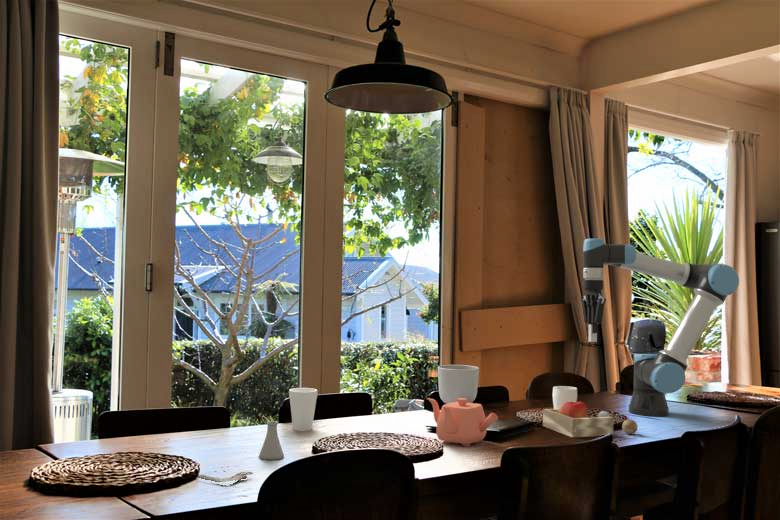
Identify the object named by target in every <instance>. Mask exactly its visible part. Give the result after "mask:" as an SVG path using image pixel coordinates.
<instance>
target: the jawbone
mask: <svg viewBox="0 0 780 520" xmlns="http://www.w3.org/2000/svg"><path fill="white" fill-rule="evenodd" d="M253 474H254V472H252V471H242V472H238V473H236V474H234V475H233V476H229V477H224V478H220V477H217V476H216V477H213V476H209V475H206V474H197V475H198V478H201V479H205V480H211V481H215V482H226V481H233V480H235V481H236V480H241V479H246V478H247V479H248V476H247V475H250V476H251V475H253Z"/></svg>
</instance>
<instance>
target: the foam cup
mask: <svg viewBox="0 0 780 520" xmlns="http://www.w3.org/2000/svg"><path fill="white" fill-rule="evenodd" d="M288 397H289V403H290V412H291V413H290V414H291V415H290V416H291V422H292V430H294V431H299V432H301V431H302V432H305V431H310V430H313V425H314V417H315V410H316V405H317V398H318V389H316V388H312V387H311V388H310V387H294V388H290V389H289V390H288Z"/></svg>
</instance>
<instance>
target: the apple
mask: <svg viewBox="0 0 780 520" xmlns="http://www.w3.org/2000/svg"><path fill="white" fill-rule="evenodd" d="M559 413H560V414H563V415H566V416H569V417H572V418H589V417H588V416H589V415H588V413H589V412H588V408H587V405H586V404H585V403H584V402H582V401H578V400H577V402H573V401H572V402H566V403H564V404H563V405H562V406H561V408H560V410H559Z"/></svg>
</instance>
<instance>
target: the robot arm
mask: <svg viewBox="0 0 780 520" xmlns="http://www.w3.org/2000/svg"><path fill="white" fill-rule="evenodd" d="M604 241H605V240H604V239H603V238H586V239H584V240H583V248H582V254H583V257H582V259H583V261H582V262H583V263H582V265H583V268H582V269H583V270H582V271H583V272H582V276H583V280H582V290H585V292H584V295H583V296H581V297H580V301H581V306H582V313H583V319H584V320H583V321H584V323H586V324H587V327H588V328H587V332H588V338H587V339H588V342H589V343H593V342H594V343H597V342H598V325H599V324H602V321H603V316H604V311H605V310H604V309H605V304H606V301H607V298H606V297H605V298H604V297H603V294H602V290H604V280H603V279H604V278H605V275H604V268H605V267H604V266H607V265H609V266H612V267H616V268H619V269H620V268H621V269H624V270H628V271H633V272H635V273H640V274H644V275H647V276H651V277H655V278H657V279H658V278H660V279H662V280H666V281H671V282H674V283H677V284H678V286H680V287H684V288H687V289H690V290H693V293H694V296H693V298H692V300H691V302H690V304H689V306H688V308H687V309H686V311H685V313H684V315H683V317H682V318H681V320H680V322H679V323H678V325H677V327H676V328H675V331H674V332H673V334H672V335H671V338H670V339H669V342H668V343H667V345H666V347H665V349H662V350H659V351H658V352H657V353H656V354H637V355H635V356H634V360H633V393H632V396H631V398H630V401H629V405H628V412H629V413H631V414H634V415H635V414H636V415H640V416H646V417H647V416H648V417H664V416H668V415H669V414H670V409H669V405H668V402H667V399H666V398H667V397H666V395H665V394H672V393H676V392H678V391H679V390H681V388H683V386H684V384H685V382H686V373H685V372H686V371H687V369H688V367H689V365H688V363H687V361H688V358H689V356H690V354H691V353H692V351H693V349H694V347H695V345H696V344H697V342H698V340H699V338H700V337H701V335H702V333H703V330H705V328H706V326H707V324H708V322H709V321H710V319H711V317H712V315H713V314H714V312H715V310H716V308H717V306H721V305H724V304H725V303H724V302H725V300H726V299H727V297H728V296H730V295H732V294H734V293H735V292H736V291H737V290H738V287H739V285H740V279H739V275H738V271H736V269H735V268H733V267H732V266H731V265H728V264H724V263H716V264H715V263H714V264H713V263H711V264H709V263H707V264H706V263H704V264H695V263H690V262H683V263H680V262H675V261H671V260H667V259H663V258H660V257H656V256H652V255H649V254H643V253H640V252H637V249H636V247H635V245H633V244H628V243H619V244H618V243H614V244H611V243H610V244H609V243H605V242H604Z"/></svg>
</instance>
